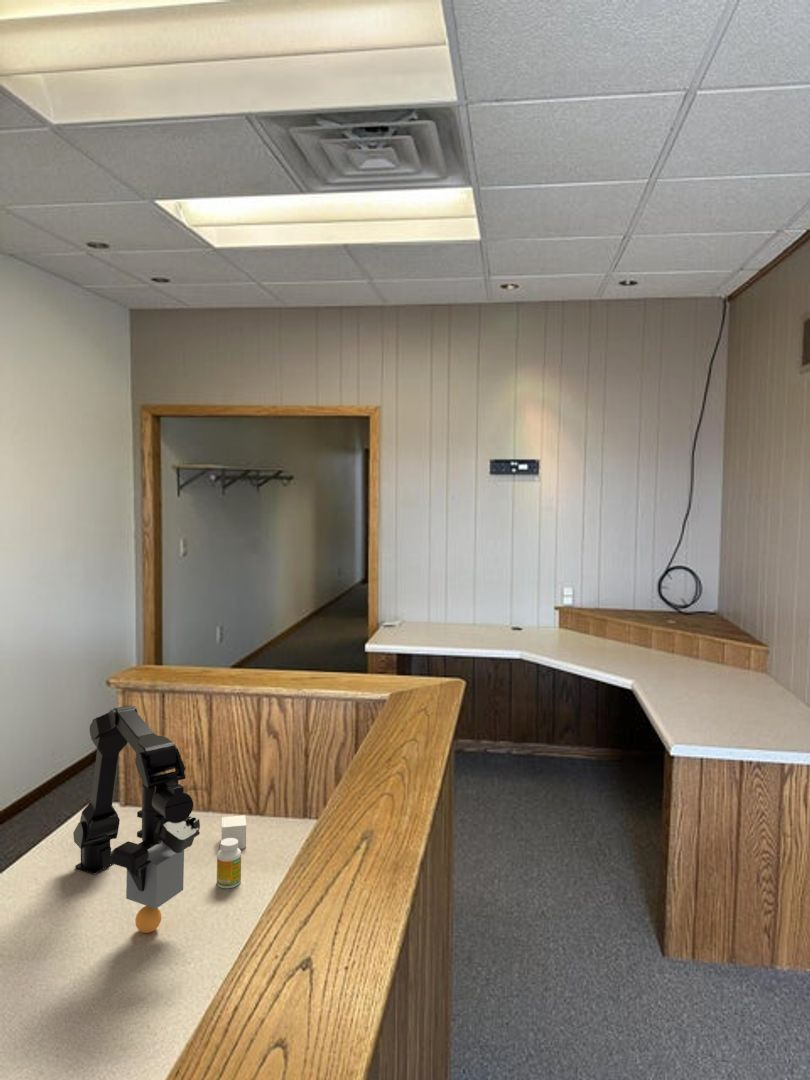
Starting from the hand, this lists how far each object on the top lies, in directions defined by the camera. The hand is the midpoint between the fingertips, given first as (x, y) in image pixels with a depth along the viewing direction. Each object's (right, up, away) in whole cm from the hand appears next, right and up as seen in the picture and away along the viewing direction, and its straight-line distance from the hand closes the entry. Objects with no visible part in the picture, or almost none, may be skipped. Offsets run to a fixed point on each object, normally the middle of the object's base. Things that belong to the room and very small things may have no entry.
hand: (156, 881), depth 145 cm
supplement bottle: (+10, -10, +20) cm, 25 cm away
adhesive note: (+6, -9, +39) cm, 41 cm away
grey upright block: (0, -3, 0) cm, 3 cm away
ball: (-2, -8, +1) cm, 8 cm away
